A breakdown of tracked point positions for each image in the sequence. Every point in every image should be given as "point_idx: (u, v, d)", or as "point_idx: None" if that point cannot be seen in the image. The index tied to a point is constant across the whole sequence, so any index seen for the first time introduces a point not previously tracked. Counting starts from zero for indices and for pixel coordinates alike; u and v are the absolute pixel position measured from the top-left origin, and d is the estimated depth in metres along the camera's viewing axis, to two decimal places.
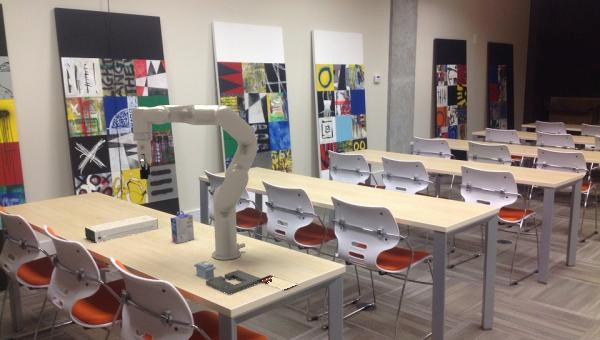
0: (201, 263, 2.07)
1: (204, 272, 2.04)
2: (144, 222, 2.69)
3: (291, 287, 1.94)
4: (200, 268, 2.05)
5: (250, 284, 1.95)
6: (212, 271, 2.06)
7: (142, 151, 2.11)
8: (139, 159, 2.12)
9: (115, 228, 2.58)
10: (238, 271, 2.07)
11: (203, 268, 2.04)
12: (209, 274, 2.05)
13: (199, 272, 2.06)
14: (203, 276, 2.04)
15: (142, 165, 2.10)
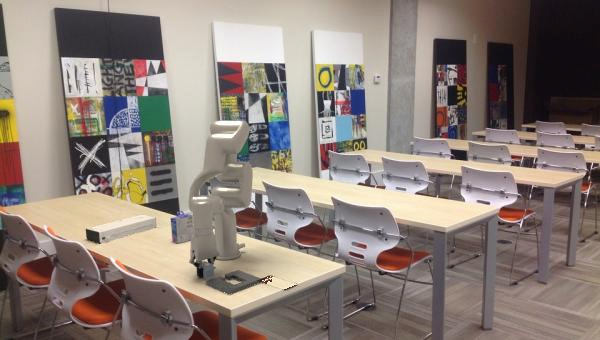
0: None
1: (204, 272, 2.04)
2: (144, 221, 2.70)
3: (291, 287, 1.94)
4: None
5: (250, 284, 1.95)
6: (212, 271, 2.06)
7: None
8: None
9: (118, 228, 2.58)
10: (238, 271, 2.07)
11: (203, 268, 2.04)
12: (209, 274, 2.05)
13: None
14: (203, 276, 2.04)
15: None
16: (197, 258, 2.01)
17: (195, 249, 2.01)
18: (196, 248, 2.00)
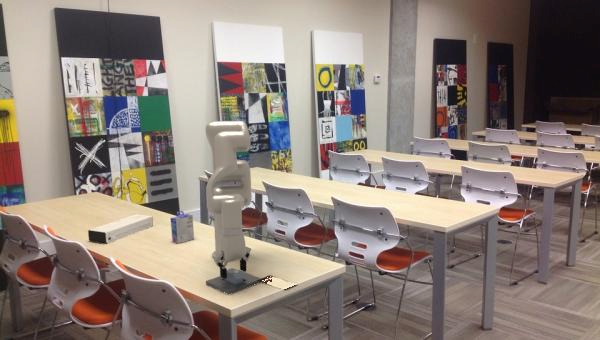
0: (230, 270, 1.98)
1: (233, 280, 1.95)
2: (142, 220, 2.72)
3: (291, 287, 1.94)
4: (229, 276, 1.97)
5: (250, 284, 1.95)
6: (241, 279, 1.97)
7: None
8: None
9: (121, 228, 2.58)
10: None
11: (232, 276, 1.95)
12: (238, 282, 1.96)
13: (228, 280, 1.98)
14: None
15: None
16: (226, 259, 1.92)
17: (224, 250, 1.92)
18: (225, 249, 1.92)
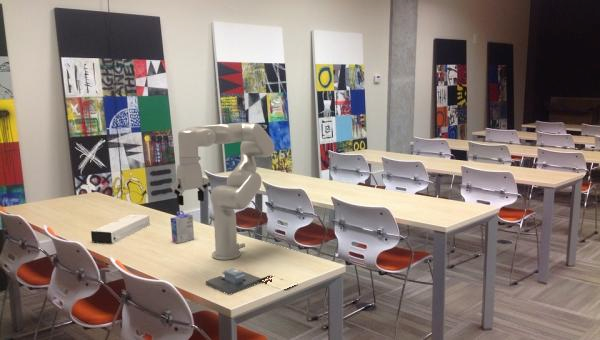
0: (230, 270, 1.98)
1: (233, 280, 1.95)
2: (141, 219, 2.74)
3: (291, 287, 1.94)
4: (229, 276, 1.97)
5: (250, 284, 1.95)
6: (241, 279, 1.97)
7: None
8: None
9: (124, 227, 2.59)
10: None
11: (232, 276, 1.95)
12: (238, 282, 1.96)
13: (228, 280, 1.98)
14: None
15: None
16: (183, 187, 2.03)
17: (181, 178, 2.03)
18: (182, 176, 2.03)
